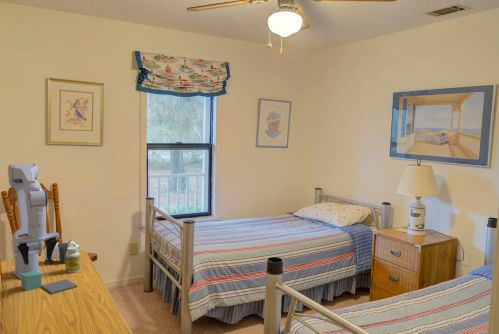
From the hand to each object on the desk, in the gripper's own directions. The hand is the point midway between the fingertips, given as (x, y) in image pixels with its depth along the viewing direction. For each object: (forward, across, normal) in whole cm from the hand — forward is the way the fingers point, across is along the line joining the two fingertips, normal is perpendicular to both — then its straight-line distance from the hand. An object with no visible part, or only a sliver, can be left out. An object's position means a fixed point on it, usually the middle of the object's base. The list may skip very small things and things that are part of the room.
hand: (37, 261), depth 142 cm
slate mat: (+10, +6, -4) cm, 12 cm away
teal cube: (+10, -1, +3) cm, 11 cm away
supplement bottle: (+10, +17, +9) cm, 22 cm away
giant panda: (+11, +18, +23) cm, 31 cm away
